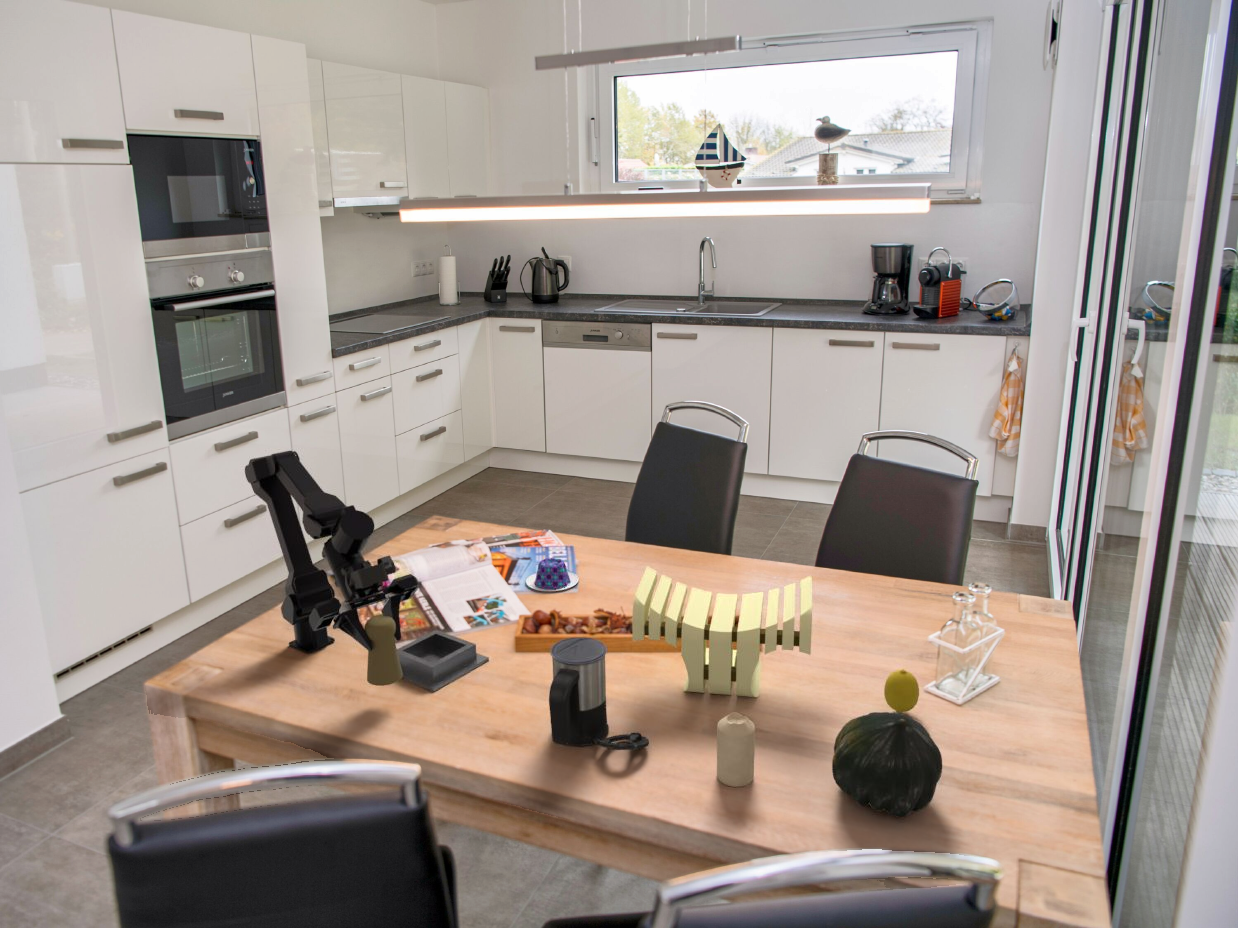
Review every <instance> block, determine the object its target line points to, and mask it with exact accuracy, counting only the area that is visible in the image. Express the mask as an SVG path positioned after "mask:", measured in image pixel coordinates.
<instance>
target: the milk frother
mask: <svg viewBox="0 0 1238 928" xmlns="http://www.w3.org/2000/svg"><path fill="white" fill-rule="evenodd" d="M607 653H608V649H607V646H606V645H605V644H604V643H603V642H602V641H600V640H598V639H595V638H591V637H584V636H582V637H581V636H578V637H577V636H576V637H569V638H564V639H560V640H559V641H557V642H555V644H553V645H552V646H551V648H550V650H549V654H550V656H551V658H552V682H551V684H550V686H549V687H550V688H549V692H548V693H549V694H548V704H549V706H548V707H549V717H550V728H551V738H552V742H553V743H554V744H557V745H561V746H562V745H563V746H568V745H570V746H574V747H585V746H590V745H594V744H596V745H598V746H600V747H602V748H604V749H608V750H609V749H610V750H613V751H627V750H628V751H629V750H641V749H644V748H646V747H648V746H649V745H650V740H649V738H648V737H645V736H644V735H642V733H641V732H631V733H628V734H624V733H623V734H617V735H612V736H609V737H607V736H608V734H609V731H610V726H609V724H608V715H607V713H608V712H607V694H606V693H607V691H606V690H607V688H606V687H607V685H606V683H607V682H606V679H607V678H606V654H607ZM619 741H626V743H615V742H619Z"/></svg>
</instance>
